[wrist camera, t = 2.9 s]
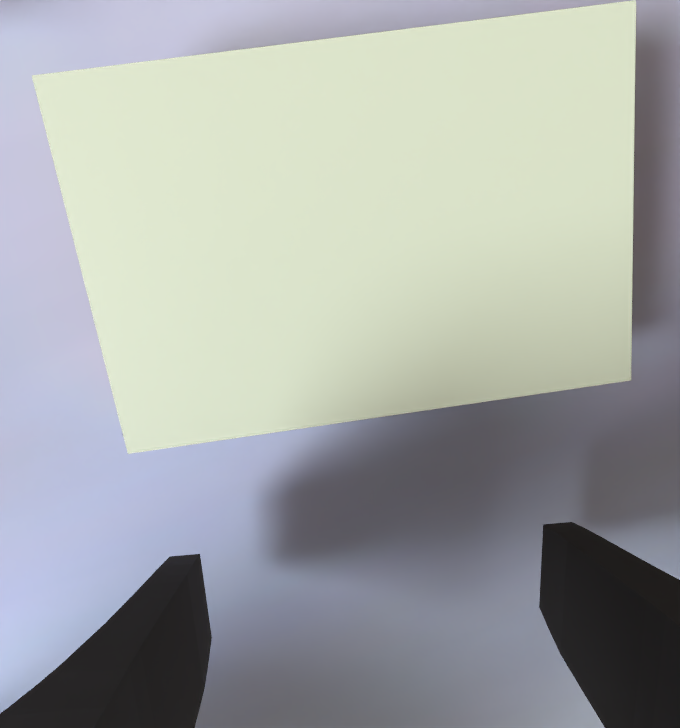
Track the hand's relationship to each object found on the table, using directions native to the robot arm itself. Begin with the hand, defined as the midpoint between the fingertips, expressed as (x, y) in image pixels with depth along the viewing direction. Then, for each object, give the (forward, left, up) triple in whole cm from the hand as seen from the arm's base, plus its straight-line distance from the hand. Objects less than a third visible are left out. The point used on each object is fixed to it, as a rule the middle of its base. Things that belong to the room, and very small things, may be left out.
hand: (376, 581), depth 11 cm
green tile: (+7, 0, -2) cm, 7 cm away
